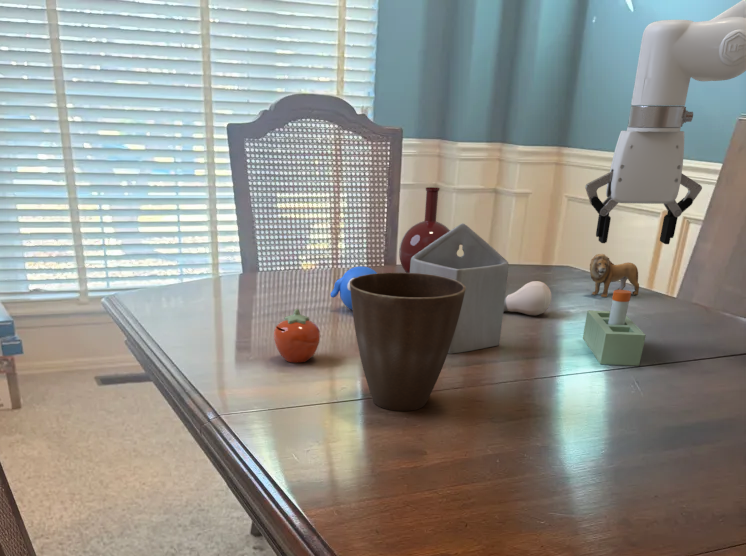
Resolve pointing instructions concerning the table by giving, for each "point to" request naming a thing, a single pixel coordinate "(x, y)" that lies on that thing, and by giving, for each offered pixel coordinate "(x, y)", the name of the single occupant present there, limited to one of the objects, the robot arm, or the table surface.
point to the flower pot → (404, 333)
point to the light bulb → (529, 299)
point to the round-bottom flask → (422, 231)
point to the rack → (613, 339)
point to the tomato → (296, 338)
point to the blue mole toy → (344, 283)
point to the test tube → (619, 307)
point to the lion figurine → (612, 274)
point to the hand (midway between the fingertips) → (633, 242)
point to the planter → (469, 284)
